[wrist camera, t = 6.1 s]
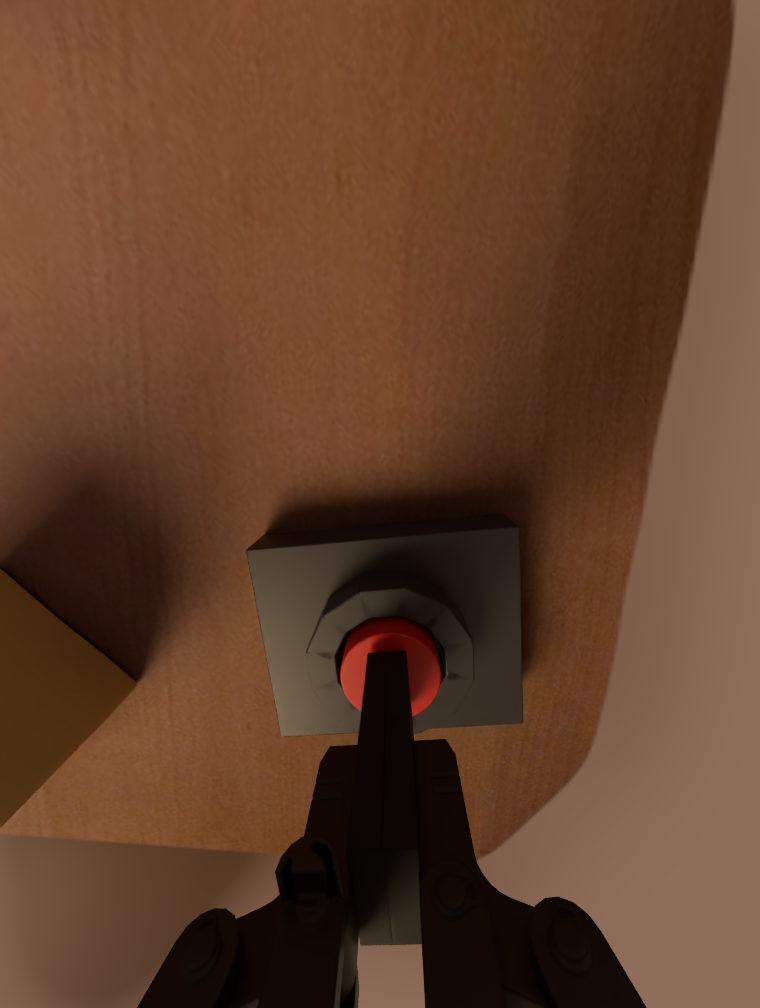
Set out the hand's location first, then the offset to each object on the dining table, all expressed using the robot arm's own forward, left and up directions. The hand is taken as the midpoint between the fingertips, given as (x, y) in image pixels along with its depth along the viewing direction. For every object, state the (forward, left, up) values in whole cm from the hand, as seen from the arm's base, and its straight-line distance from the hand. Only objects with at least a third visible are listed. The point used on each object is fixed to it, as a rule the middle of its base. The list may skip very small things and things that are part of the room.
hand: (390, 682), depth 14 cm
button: (0, 0, -2) cm, 2 cm away
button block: (0, 0, -5) cm, 5 cm away
